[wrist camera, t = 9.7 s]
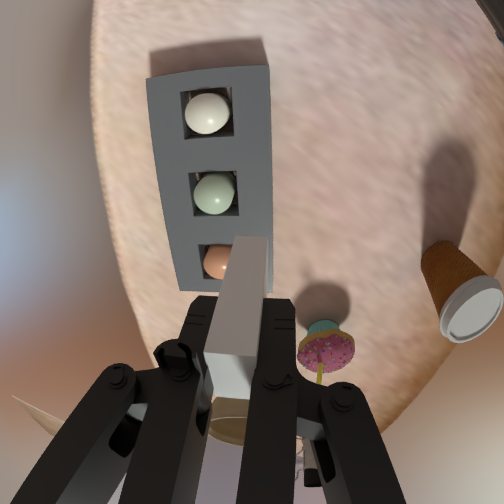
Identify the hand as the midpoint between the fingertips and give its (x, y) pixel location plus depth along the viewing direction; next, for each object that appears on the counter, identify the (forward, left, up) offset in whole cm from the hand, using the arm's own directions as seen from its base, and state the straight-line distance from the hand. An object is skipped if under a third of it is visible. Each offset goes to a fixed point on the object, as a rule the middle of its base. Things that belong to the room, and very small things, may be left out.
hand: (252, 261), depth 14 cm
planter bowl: (+44, -3, -20) cm, 48 cm away
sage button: (+3, -5, -19) cm, 20 cm away
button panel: (+3, -5, -19) cm, 20 cm away
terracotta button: (+11, -5, -19) cm, 23 cm away
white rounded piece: (-6, -5, -19) cm, 21 cm away
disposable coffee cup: (+13, +25, -20) cm, 34 cm away
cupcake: (+26, +9, -20) cm, 33 cm away
